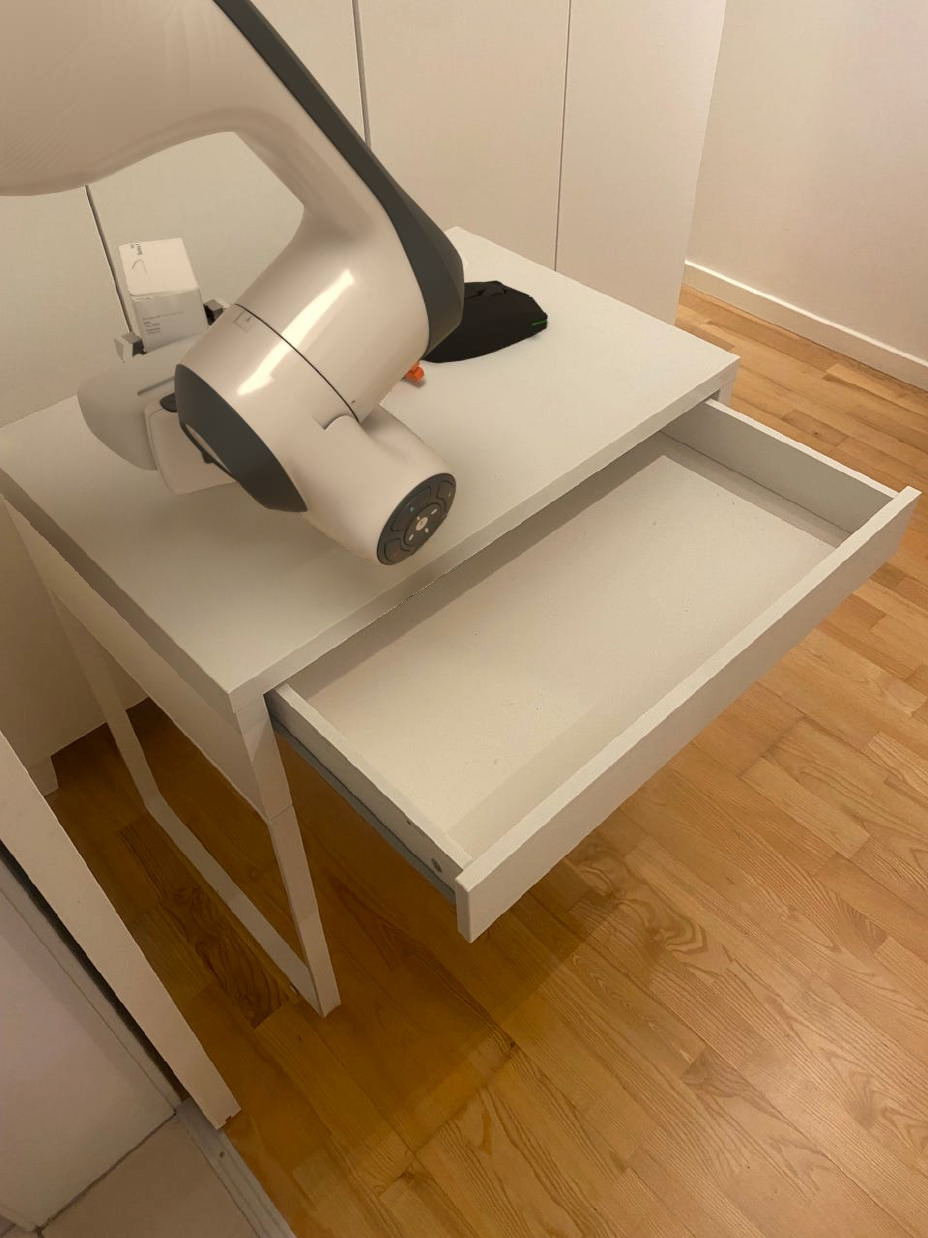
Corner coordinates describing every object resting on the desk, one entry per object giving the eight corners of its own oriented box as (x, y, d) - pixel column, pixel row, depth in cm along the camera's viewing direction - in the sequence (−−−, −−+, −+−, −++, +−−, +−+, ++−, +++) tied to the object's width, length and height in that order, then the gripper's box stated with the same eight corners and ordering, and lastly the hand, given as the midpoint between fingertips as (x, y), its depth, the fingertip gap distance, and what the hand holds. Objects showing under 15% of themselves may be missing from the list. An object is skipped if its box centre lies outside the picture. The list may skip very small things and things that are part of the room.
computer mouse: (375, 325, 104) (373, 291, 101) (495, 281, 111) (496, 248, 108) (435, 375, 98) (435, 341, 95) (558, 325, 105) (562, 292, 102)
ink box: (233, 425, 75) (202, 286, 67) (169, 438, 74) (129, 299, 66) (213, 366, 81) (182, 230, 72) (153, 377, 80) (115, 241, 71)
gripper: (387, 314, 69) (275, 243, 75) (131, 428, 59) (29, 336, 66) (390, 388, 74) (285, 315, 80) (154, 505, 64) (57, 412, 71)
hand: (167, 325), depth 73 cm, fingers closed on ink box, 6 cm apart
